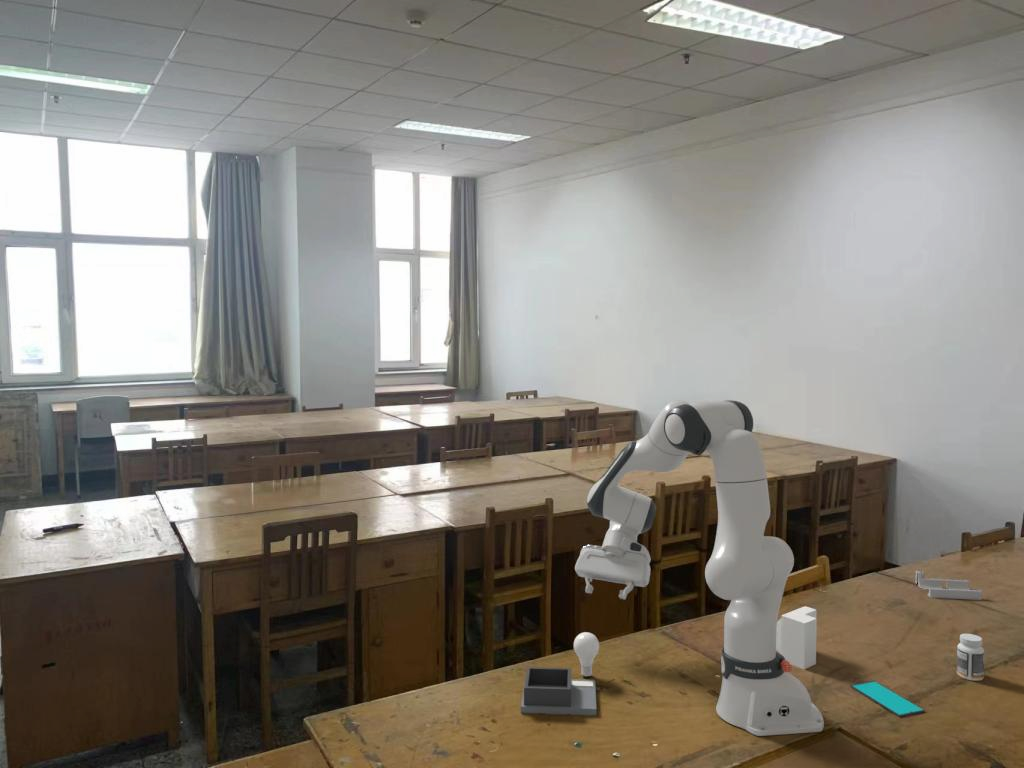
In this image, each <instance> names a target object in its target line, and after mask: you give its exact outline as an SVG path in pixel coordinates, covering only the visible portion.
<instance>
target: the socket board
mask: <svg viewBox="0 0 1024 768" xmlns="http://www.w3.org/2000/svg"><path fill="white" fill-rule="evenodd" d="M521 695H522V696H521V701H520V702H521V703H520V713H521V714H538V713H545V715H549V714H550V715H567V714H571V716H572V715H574V716H597V692H596V679H579V678H578V679H577V678H576V679H575V678H572V668H571V667H569V668H568V667H543V666H542V667H541V666H539V667H538V666H527V667H526V670H525V678H524V682H523V689H522V694H521ZM576 714H577V715H576Z"/></svg>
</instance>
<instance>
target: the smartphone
mask: <svg viewBox="0 0 1024 768" xmlns="http://www.w3.org/2000/svg"><path fill="white" fill-rule="evenodd" d="M849 686H850V688H851V689H852V690H853V691H856V692H858V693H859V694H860V695H863V697H865V698H868V700H871V701H872V702H873V703H875V704H876V705H877V706H880V707H881V708H883V709H885V710H886V711H888V712H889V713H891V714H892V715H895V716H896V717H898V718H903V717H909V716H914V715H919V714H923V713H925V709H924V708H922V707H921V706H919V705H917V704H916V703H913V702H912V701H910V700H908V699H907V698H905V697H904V696H901V695H900V694H899V693H897V692H894V691H893V690H891V689H890V688H888V687H886V686H884V685H883V684H881V683H880V682H877V681H876V680H870V681H865V682H860V683H855V684H850V685H849Z"/></svg>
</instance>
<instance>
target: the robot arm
mask: <svg viewBox="0 0 1024 768" xmlns="http://www.w3.org/2000/svg"><path fill="white" fill-rule="evenodd" d="M753 429H754V418H753V414H752V412H751V410H750V409H749V407H748V406H747V405H746V404H745V403H742V402H741V401H737V400H733V399H732V400H731V399H725V400H703V401H696V402H692V403H689V401H688V402H687V401H685V400H674V401H673V400H672V401H670V402H669V403H667V404H666V405H664V407H663V409H662V410H661V411H660V412H659V413H658V415H657V417H656V418H655V420H654V421H653V423H652V425H651V427H650V429H649V431H648V432H647V434H646V435H645V436H644V437H642V438H640V439H638V440H634V441H630V442H628V443H627V444H626V445H625V446H624V447H623V449H622V450H621V451H620V453H619V454H618V455H617V456H616V458H615V459H614V460H613V462H612V463H611V464H610V465H609V466H608V468H607V469H606V470H605V472H604V473H603V474H602V476H600V478H599V479H598V480H597V481H596V482H595V483H594V485H593V486H592V487H591V488H590V490H589V492H588V494H587V498H586V506H587V508H588V510H589V511H590V513H591V514H592V516H594V517H598V518H602V519H605V520H608V521H609V527H608V530H607V531H606V533H605V536H604V539H603V542H602V545H593V544H587V545H585V546H583V547H582V548H581V550H580V551H579V552H580V553H579V556H578V558H577V560H576V563H575V566H574V570H575V572H576V574H577V576H578V577H581V578H584V580H585V584H586V585H585V590H584V591H585V593H587V594H590V595H591V594H593V591H594V586H593V585H592V584H591V583H592V582H593V580H597V581H598V580H599V581H603V582H604V581H605V582H610V583H611V582H612V583H615V584H621V585H622V584H623V585H626V587H624V589H620V590H619V594H618V597H619V599H620V600H626V599H627V596H628V594H629V593H630V592H631V591H633V589H634V587H641V588H645V587H646V586H648V585H649V583H650V580H651V579H650V577H651V565H650V563H651V561H652V559H651V555H650V552H649V550H648V549H647V547H646V546H645V545H643V544H641V543H639V542H638V536H639V535H640V534H643V533H645V532H647V531H649V530H651V529H652V526H653V524H654V520H655V516H656V513H657V506H656V503H655V502H654V500H653V498H651V497H649V496H647V495H645V494H642V493H639V492H638V491H634V490H631V489H629V488H626V487H623V486H621V485H619V483H620V482H621V480H622V479H623V478H624V477H625V475H626V474H627V473H630V472H635V471H642V472H643V471H644V472H653V473H666V472H670V471H671V472H672V471H675V470H676V469H678V468H679V467H680V466H681V465H682V464H683V462H685V460H686V459H687V457H688V455H689V453H691V454H693V455H695V456H698V457H699V456H701V455H702V454H703V453H704V452H705V453H706V454H707V455H708V456H709V457H710V458H711V460H712V464H713V471H714V473H713V474H714V482H715V492H716V493H715V494H716V502H717V503H716V504H717V526H716V535H715V540H714V546H713V549H712V553H711V556H710V558H709V560H708V561H707V563H706V565H705V569H704V577H705V581H706V585H707V586H708V588H709V589H710V591H711V592H712V593H713V595H715V596H717V597H719V598H720V599H723V600H726V601H730V604H729V605H728V606H727V608H726V611H725V614H724V617H723V618H724V619H723V620H724V622H723V647H722V649H721V656H720V657H721V659H720V661H721V662H720V664H721V665H720V666H721V669H720V670H721V674H722V679H721V680H722V681H721V686H720V691H719V696H718V700H717V704H716V707H715V711H716V713H717V715H718V716H719V717H720V718H721V719H722V720H724V721H725V722H727V723H728V724H731V725H732V726H735V727H737V728H741V729H743V730H746V732H749V733H750V734H752V735H754V736H758V737H764V736H765V737H766V736H776V735H777V736H779V735H789V734H790V735H791V734H793V735H794V734H803V733H804V734H808V733H819V732H822V731H823V729H824V728H825V720H824V717H823V715H822V713H821V711H820V710H819V709H818V707H817V706H816V705H815V704H814V703H813V702H812V698H811V695H810V693H809V691H808V689H807V688H806V686H805V685H804V684H803V682H801V681H800V680H799V679H798V678H797V677H795V676H794V675H792V674H791V671H792V669H793V665H791V664H790V663H789V662H788V661H786V660H785V658H784V656H782V655H781V654H780V653H779V652H778V650H776V631H777V621H778V617H779V611H780V607H781V603H782V600H783V596H784V591H785V587H786V583H787V581H788V577H789V576H790V574H791V572H792V570H793V567H794V565H795V557H794V554H793V550H792V549H791V547H790V546H789V544H787V542H786V541H784V540H783V539H782V538H779V537H776V536H770V535H769V536H767V535H764V534H765V530H766V526H767V523H768V520H769V519H770V516H771V503H770V493H769V485H768V476H767V470H766V463H765V459H764V456H763V455H764V454H763V451H762V448H761V445H760V441H759V439H758V437H757V436H756V435H755V434H754V433H753ZM776 651H777V652H776Z"/></svg>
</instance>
